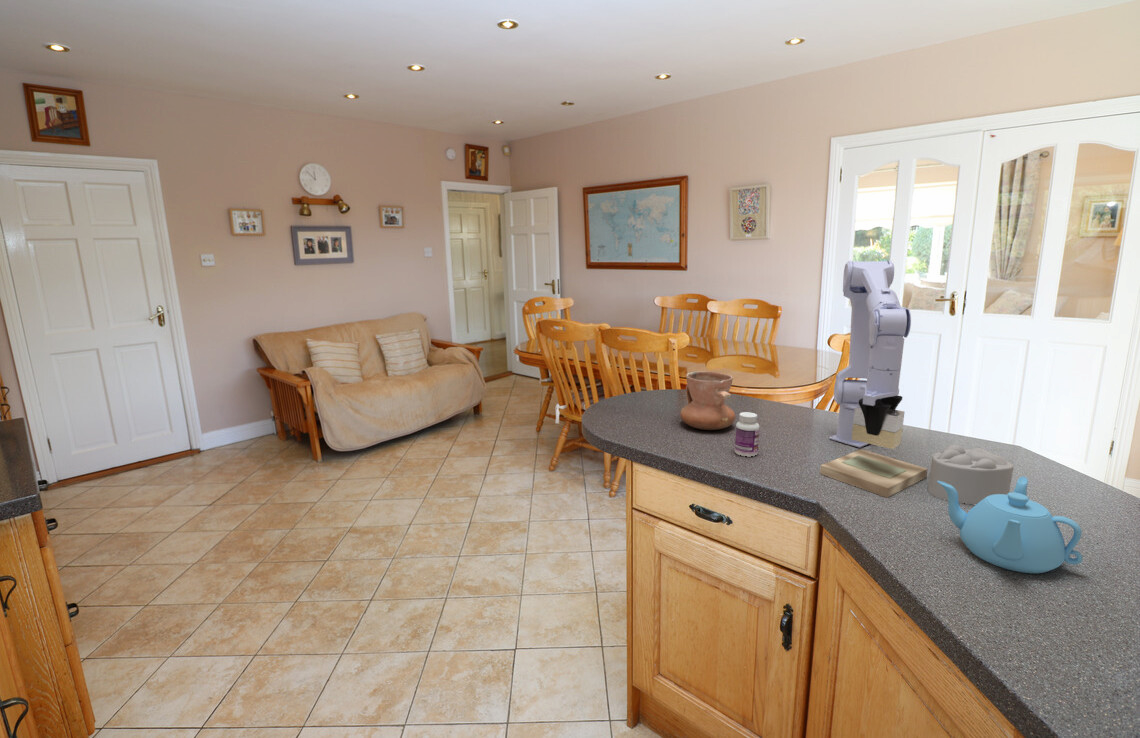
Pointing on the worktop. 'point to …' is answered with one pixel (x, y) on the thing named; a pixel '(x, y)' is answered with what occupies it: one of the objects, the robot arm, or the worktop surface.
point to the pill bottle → (747, 435)
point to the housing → (889, 429)
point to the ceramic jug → (708, 401)
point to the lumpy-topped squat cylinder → (969, 474)
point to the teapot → (1014, 531)
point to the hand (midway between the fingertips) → (877, 431)
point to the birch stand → (874, 472)
